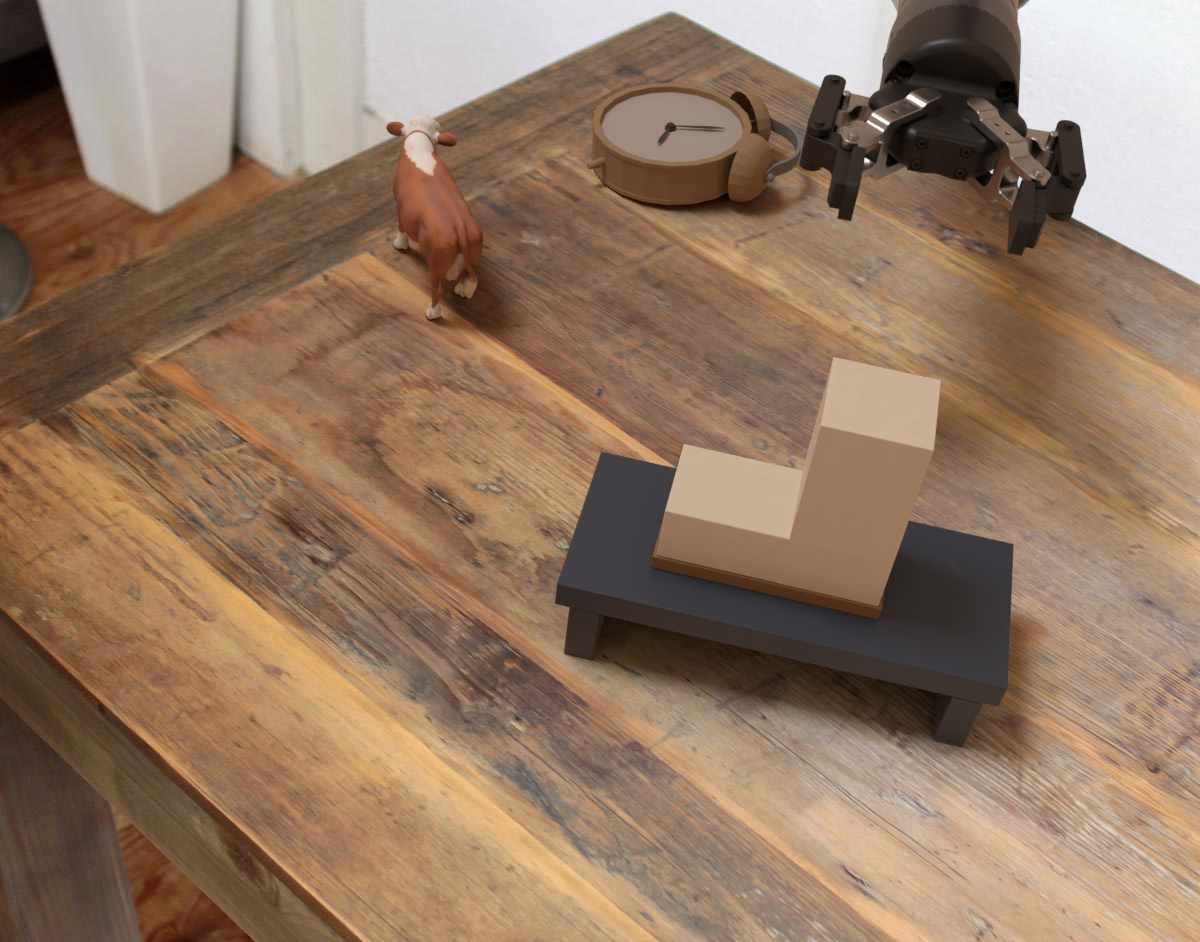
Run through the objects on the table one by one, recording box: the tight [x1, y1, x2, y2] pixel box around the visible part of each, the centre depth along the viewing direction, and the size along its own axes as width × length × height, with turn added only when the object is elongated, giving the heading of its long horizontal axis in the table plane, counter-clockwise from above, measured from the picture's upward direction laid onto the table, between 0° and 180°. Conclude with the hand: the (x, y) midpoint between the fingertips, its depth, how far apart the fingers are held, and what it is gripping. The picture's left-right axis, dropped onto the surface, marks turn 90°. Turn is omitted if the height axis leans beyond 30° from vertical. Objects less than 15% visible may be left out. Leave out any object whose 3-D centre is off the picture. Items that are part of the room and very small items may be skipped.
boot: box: [651, 356, 942, 620], centre depth 70 cm, size 11×5×11 cm, turn 77°
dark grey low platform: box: [554, 451, 1014, 748], centre depth 76 cm, size 22×10×5 cm, turn 77°
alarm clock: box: [586, 82, 803, 206], centre depth 106 cm, size 11×5×15 cm
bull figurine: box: [385, 114, 484, 320], centre depth 93 cm, size 4×14×8 cm, turn 16°
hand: (934, 222), depth 73 cm, fingers open, 8 cm apart
